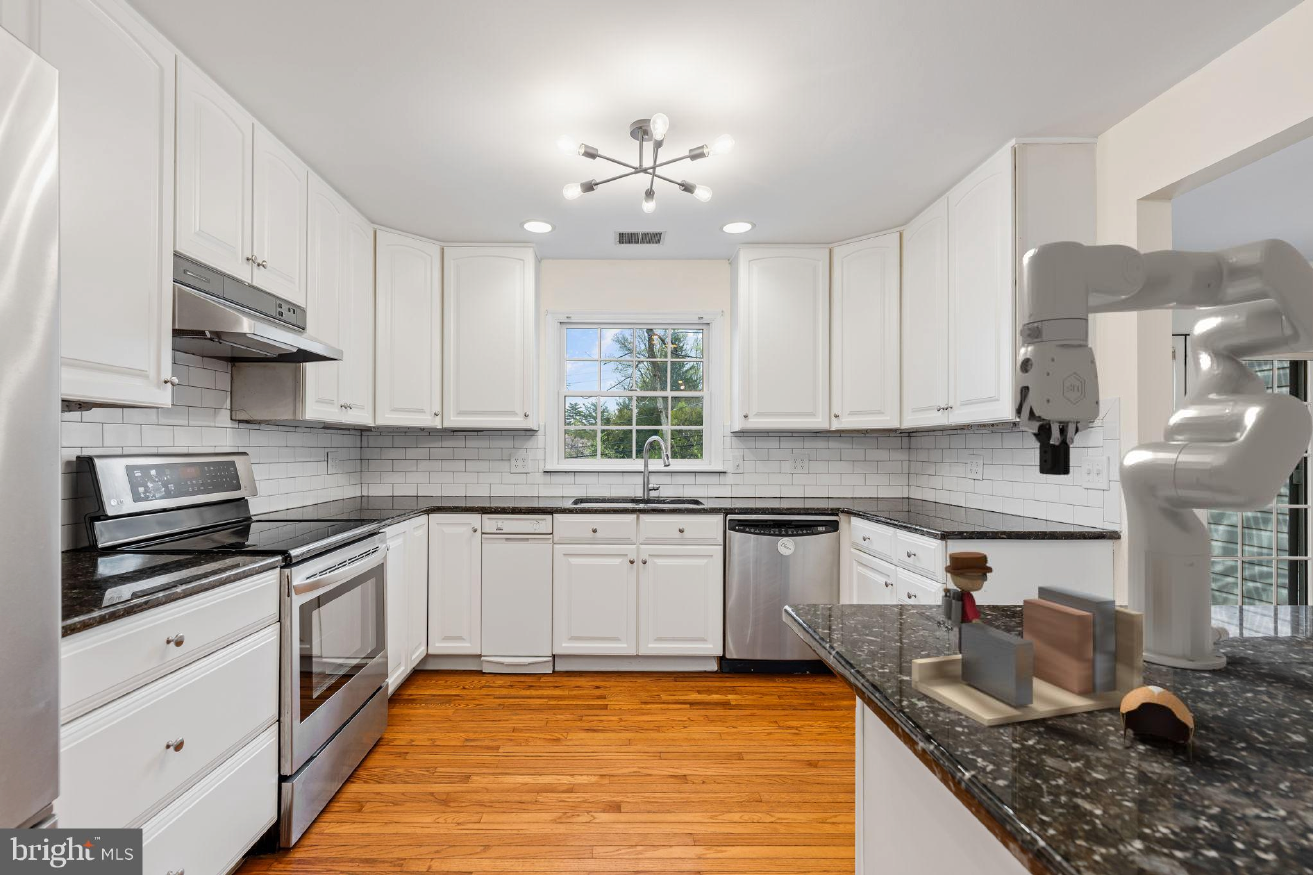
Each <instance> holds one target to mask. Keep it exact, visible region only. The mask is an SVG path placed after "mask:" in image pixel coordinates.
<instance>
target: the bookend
mask: <svg viewBox="0 0 1313 875" xmlns="http://www.w3.org/2000/svg"><path fill="white" fill-rule="evenodd" d="M961 654H962V660H961V680H963V681H965V682H967V683H969V684H971V685H973V686H975V687H977V688H979V689H981V690H983V691H985V692H987V693H989V694H991V695H993V696H995V697H997V698H999V699H1001V700H1003V701H1005V702H1007V703H1009V704H1011V705H1013V706H1015V707H1016V706H1022V705H1029V704H1033V642H1031V641H1028V640H1025V639H1023V638H1022V637H1020V636H1017V635H1014V634H1012V633H1009V632H1006V631H1003V630H1000V629H997V628H995V627H992V626H990V625H987V624H985V623H983V624H981V623H979V622H974V623H964V624H962V653H961Z"/></svg>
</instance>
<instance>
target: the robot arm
mask: <svg viewBox="0 0 1313 875" xmlns="http://www.w3.org/2000/svg"><path fill="white" fill-rule="evenodd" d="M1021 264H1022V265H1021V320H1022V321H1021V329H1020V330H1019V336H1020V337H1021V348H1020V349H1019V352H1018V358H1017V364H1016V369H1015V375H1014V376H1015V378H1014V389H1013V390H1014V391H1013V392H1014V393H1013V394H1014V396H1013V397H1014V398H1013V404H1014V405H1013V406H1014V408H1013V409H1014V414H1015V417H1016V418H1018V419H1019V424H1018V426H1019V429H1020V430H1023V431H1025V432H1028V433H1031V435H1033V437H1034V442H1035V444H1036V445H1038V452H1039V455H1038V456H1039V457H1038V458H1039V459H1038V460H1039V461H1038V464H1039V466H1038V468H1039V469H1038V470H1039V471H1038V472H1039V473H1040V474H1041V475H1050V476H1052V475H1053V476H1068V475H1070V474H1071V470H1070V469H1071V446H1072V445H1073V444H1074V443H1075V436H1076V435H1077V434H1078V433H1081V432H1085V431H1086V430H1089V428H1090V425H1089V424H1090V423H1089V422H1092V421H1095V420H1097V419H1098V418H1099V416H1100V411H1101V410H1100V403H1101V402H1100V401H1101V400H1100V389H1099V388H1100V386H1099V376H1098V374H1099V373H1098V368H1097V364H1096V363H1097V362H1096V358H1095V354H1094V350H1093V347H1092V346H1089V343H1090V342H1089V337H1090V336H1089V335H1090V334H1089V332H1090V331H1089V315H1090V314H1092V315H1093V314H1103V313H1104V314H1105V313H1131V312H1142V311H1143V312H1144V311H1151V310H1208V309H1215V308H1218V309H1215V310H1212V311H1210V312H1207V313H1205V314H1203V315H1202V316H1200V317H1198V319H1196V321H1194V323H1193V325H1192V326H1191V329H1190V333H1189V346H1190V352H1191V356H1192V357H1191V358H1192V362H1193V365H1194V370H1195V375H1196V379H1195V382H1194V383H1193V385H1192V386H1191V388H1190V389H1189V390H1188V392H1187V393H1186V394H1185V396H1184V397H1183V398H1182V399H1181V401H1180V402H1179V403H1178V404H1177V406H1176V408H1174V410H1173V412H1172V413H1171V414H1170V416H1168V419H1166V420H1167V421H1166V423H1165V425H1164V427H1163V439H1164V441H1155V442H1154V441H1153V442H1152V441H1151V442H1146V443H1142V444H1139V445H1137V446H1134V447H1132V448H1131V449H1129V450H1127V452H1125V454H1124V455H1122V458H1121V460H1120V463H1119V468H1118V469H1119V470H1118V471H1119V480H1120V485H1121V489H1122V493H1123V497H1124V498H1123V499H1124V502H1125V508H1126V519H1127V520H1126V521H1127V609H1128V610H1132V611H1136V612H1140V613H1143V661H1146V662H1149V663H1153V664H1156V665H1161V666H1167V667H1171V668H1177V669H1178V668H1179V669H1188V670H1196V671H1197V670H1200V671H1211V670H1213V669H1215V670H1219V669H1220V668H1221V669H1223V668H1225V667H1226V666H1227V657H1226V656H1225V654H1223V653H1222V652H1221V651H1219V650H1217V649H1214V643H1215V642H1218V641H1219V642H1220V641H1225V640H1228V639H1229V638H1230V632H1229V630H1228V629H1226V628H1225V627H1223V626H1215V627H1214V626H1212V554H1213V552H1212V539H1211V536H1210V533H1209V531H1208V529H1207V527H1206V525H1205V524H1204V523H1203V521H1202V520H1201V518H1200V517H1199V516H1198V515H1197V513H1196V512H1195V511H1194V510H1197V509H1199V510H1209V511H1219V512H1220V511H1221V512H1233V513H1252V512H1258V511H1261V510H1263V509H1265V508H1267V507H1268V506H1269V505H1270V504H1271V503H1272V502H1273V501H1274V500H1275V499H1276V498H1277V496H1278V495H1279V493H1280V492H1281V490H1282V488H1283V487H1284V486H1285V484H1286V482H1287V481H1288V480H1289V478H1290V476H1291V475H1292V474H1293V472H1294V471H1295V470H1296V467H1297V466H1298V464H1299V463H1300V461H1301V460H1302V458H1303V457H1304V456H1305V453H1306V451H1307V450H1308V447H1309V445H1310V442H1311V439H1312V434H1313V418H1312V415H1311V412H1310V409H1309V408H1308V406H1307V405H1306V404H1305V403H1304V402H1303V401H1302V400H1301V399H1300V398H1298V397H1296V396H1293V395H1291V394H1287V393H1283V392H1282V393H1281V392H1267V390H1268V389H1267V385H1266V383H1265V382H1264V380H1263V379H1262V377H1261V376H1260V375H1259V374H1258V373H1257V372H1256V371H1255V369H1252V368H1251V367H1249V365H1246V364H1245V363H1244V362H1243V361H1242V360H1243V359H1246V358H1253V357H1254V358H1255V357H1263V356H1274V355H1275V356H1277V355H1284V354H1295V353H1303V352H1304V353H1305V352H1309V351H1313V267H1312V265H1311V264H1310V262H1309V261H1308V260H1307V259H1306V258H1305V256H1304V255H1303V254H1302V253H1301V252H1300V251H1299V250H1298V249H1297V248H1296V247H1295V246H1293V245H1292V244H1290V243H1289V242H1287V241H1285V240H1283V239H1279V238H1267V239H1261V240H1257V241H1253V242H1249V243H1245V244H1242V245H1241V244H1240V245H1237V246H1233V247H1229V248H1223V249H1219V250H1214V251H1189V250H1188V251H1185V250H1175V249H1174V250H1173V249H1162V250H1154V251H1150V252H1144V253H1141V252H1140V251H1139V250H1138V249H1136V248H1134V247H1131V246H1128V245H1124V244H1117V243H1116V244H1100V245H1085V244H1084V243H1081V242H1078V241H1069V240H1065V241H1055V242H1049V243H1048V242H1047V243H1043V244H1040V245H1038V246H1035V247H1033V248H1030V249H1029V250H1028V251H1027V252H1026V253H1025V254H1024V256H1023V258H1022V262H1021ZM1221 307H1222V308H1221ZM1213 671H1214V670H1213Z"/></svg>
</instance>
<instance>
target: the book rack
mask: <svg viewBox="0 0 1313 875" xmlns="http://www.w3.org/2000/svg"><path fill="white" fill-rule="evenodd" d="M1037 596H1038V597H1037V598H1028V599H1027V598H1025V599H1023V600H1022V602H1023V603H1022V605H1023V607H1022V608H1023V610H1022V614H1023V615H1022V616H1023V617H1022V619H1023V620H1022V621H1023V622H1022V623H1023V625H1022V626H1023V627H1022V633H1023V634H1022V635H1023V639H1025V640H1028V641H1031V642H1033V704H1029V705H1022V706H1016V707H1015V706H1013V705H1011V704H1009V703H1007V702H1005V701H1003V700H1001V699H999V698H997V697H995V696H993V695H991V694H989V693H987V692H985V691H983V690H981V689H979V688H977V687H975V686H973V685H971V684H969V683H967V682H965V681H963V680H961V660H962V653H961V654H955V655H954V654H953V655H944V656H936V657H927V658H919V659H917V658H916V659H912V660H911V688H913V689H914V690H916V691H919V692H920V693H922V694H924V695H926V696H927V697H930V698H932V699H934V700H936V701H938V702H940V703H942V704H943V705H945V706H947V707H949V708H952V710H953V709H954V710H955V711H956V712H959V713H961V714H963V715H964V716H966V717H968V718H970V719H972V720H974V721H976V722H978V723H980V724H982V725H984V726H986V727H990V726H995V725H996V726H997V725H1002V724H1003V725H1005V724H1009V723H1018V722H1023V721H1024V722H1025V721H1029V720H1030V721H1031V720H1037V719H1042V718H1050V717H1058V716H1063V715H1070V714H1076V713H1082V712H1089V711H1097V710H1103V709H1108V708H1109V709H1111V708H1116V707H1121V703H1122V700H1123V698H1124V697H1125V696H1126V695H1127V694H1128V693H1129V692H1131V691H1133V690H1135V689H1138V688H1141V687H1144V660H1143V613H1140V612H1136V611H1132V610H1128V608H1124V607H1120V606H1116V599H1112V598H1109V597H1105V596H1099V595H1096V594H1092V593H1088V592H1084V591H1081V590H1076V589H1073V588H1069V587H1065V586H1060V585H1057V584H1054V585H1041V586H1038V587H1037Z"/></svg>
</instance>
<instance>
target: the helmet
mask: <svg viewBox="0 0 1313 875" xmlns="http://www.w3.org/2000/svg"><path fill="white" fill-rule="evenodd" d="M1119 707H1120V710H1119V714H1120V720H1121V724H1122V726H1123V727H1122V728H1123V744H1124V745H1123V746H1124V748H1126V738H1127V731H1128V730H1129V732H1131V733H1133V734H1146V735H1153V736H1157V737H1161V736H1162V737H1163V738H1165V739H1168V738H1169V740H1171V741H1173V742H1174V743H1175V742H1176V743H1178V744H1179V743H1180V744H1181V743H1185V744H1186V749H1187V752H1188V754H1189V757H1190V763H1191V764H1192V763H1193V762H1192V757H1193V756H1192V753H1193V752H1192V749H1193V747H1192V745H1193V744H1192V738H1193V734H1194V731H1195V726H1194V719H1193V716H1192V714H1191V712H1190V711H1189V709H1188V708H1187V706H1186V704H1184V703H1183V702H1182V700H1180V699H1179V698H1178V697H1176V696H1175V695H1174V694H1172V692H1169V691H1168V690H1166V689H1165V688H1162V687H1160V686H1155V685H1147V686H1143V687H1141V688H1138V689H1135V690H1133V691H1131V692H1129V693H1128V694H1127V695H1126V696H1125V697H1124V698H1123V700H1122V703H1121V706H1119Z"/></svg>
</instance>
